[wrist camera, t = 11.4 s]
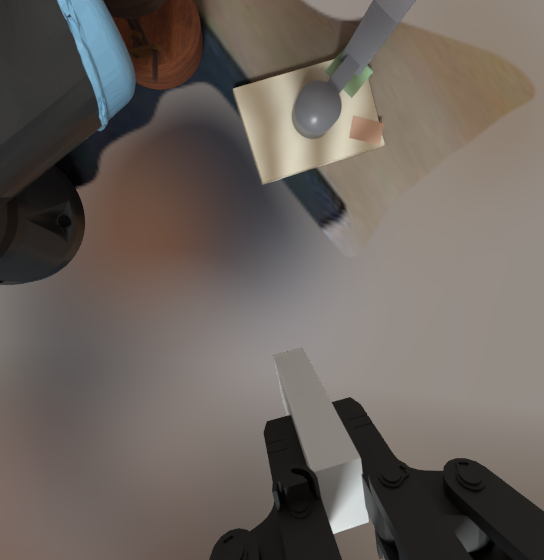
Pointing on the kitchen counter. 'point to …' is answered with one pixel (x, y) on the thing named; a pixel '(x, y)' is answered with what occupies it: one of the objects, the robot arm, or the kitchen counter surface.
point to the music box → (159, 39)
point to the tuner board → (283, 136)
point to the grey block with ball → (346, 69)
